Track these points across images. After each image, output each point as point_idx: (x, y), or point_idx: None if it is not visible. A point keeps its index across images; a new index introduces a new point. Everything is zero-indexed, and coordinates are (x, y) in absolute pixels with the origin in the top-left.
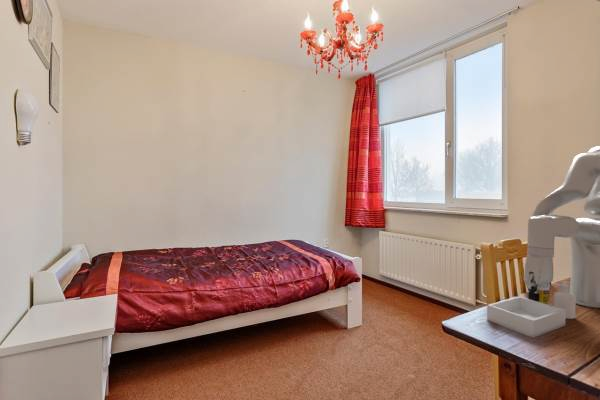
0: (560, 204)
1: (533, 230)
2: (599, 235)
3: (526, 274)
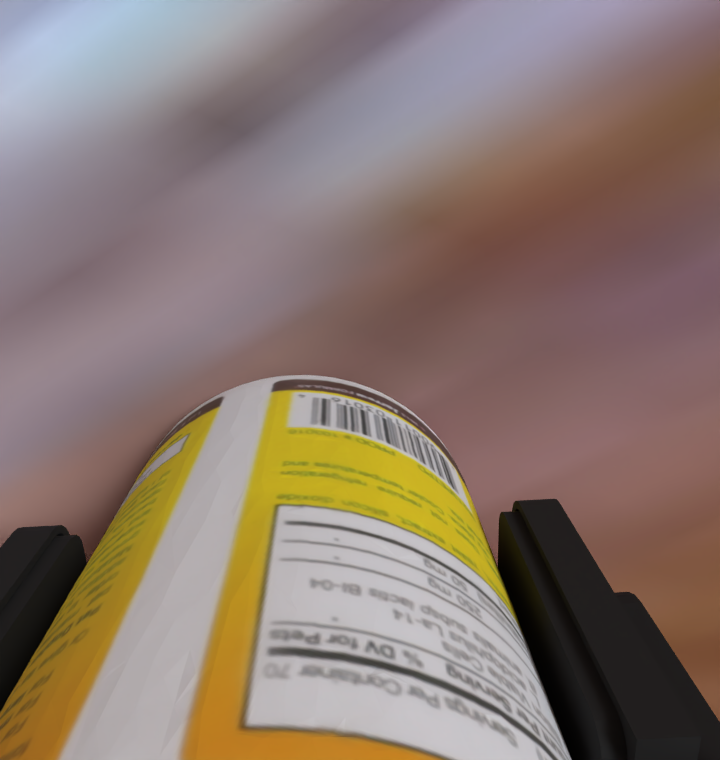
0: None
1: None
2: None
3: None
